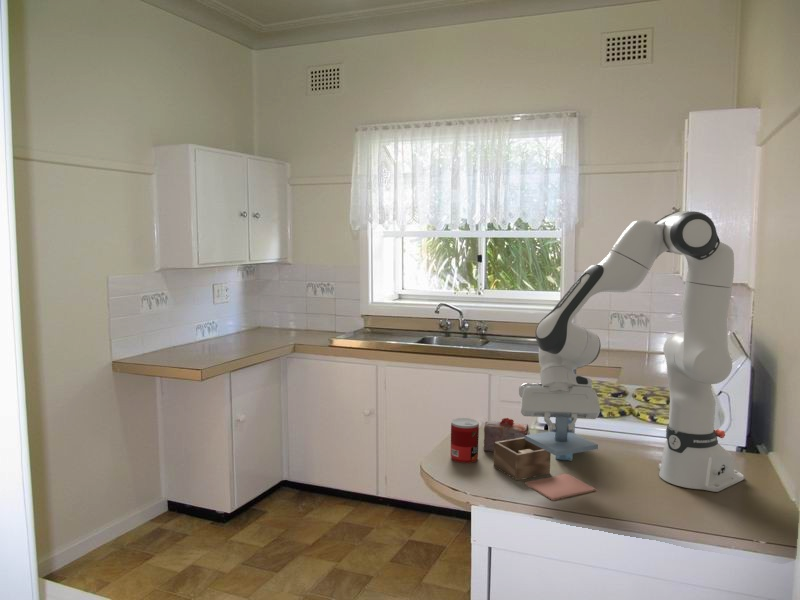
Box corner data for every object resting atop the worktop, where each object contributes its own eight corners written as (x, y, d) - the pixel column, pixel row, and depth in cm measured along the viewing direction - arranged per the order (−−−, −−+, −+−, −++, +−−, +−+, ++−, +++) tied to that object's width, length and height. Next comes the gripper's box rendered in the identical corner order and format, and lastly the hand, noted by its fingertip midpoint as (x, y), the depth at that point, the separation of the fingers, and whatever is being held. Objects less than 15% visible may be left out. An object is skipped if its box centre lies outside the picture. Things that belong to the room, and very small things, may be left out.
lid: (563, 437, 177) (565, 407, 176) (597, 452, 165) (599, 421, 164) (524, 443, 171) (526, 413, 170) (556, 460, 160) (558, 427, 159)
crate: (525, 460, 189) (526, 436, 188) (549, 473, 179) (550, 449, 178) (493, 466, 184) (494, 442, 183) (516, 480, 174) (517, 455, 173)
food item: (529, 448, 199) (530, 416, 198) (528, 457, 191) (529, 424, 190) (484, 444, 202) (485, 413, 201) (481, 453, 194) (482, 421, 193)
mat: (567, 475, 178) (567, 473, 177) (595, 490, 168) (595, 488, 168) (525, 484, 172) (525, 482, 171) (551, 500, 162) (551, 498, 162)
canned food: (476, 464, 185) (477, 427, 184) (448, 462, 187) (449, 425, 185) (479, 455, 192) (479, 418, 191) (452, 452, 194) (452, 417, 193)
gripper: (519, 376, 174) (522, 423, 165) (597, 379, 172) (604, 427, 164) (517, 388, 179) (519, 435, 170) (593, 391, 177) (599, 438, 169)
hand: (561, 431), depth 167 cm, fingers closed on lid, 3 cm apart
